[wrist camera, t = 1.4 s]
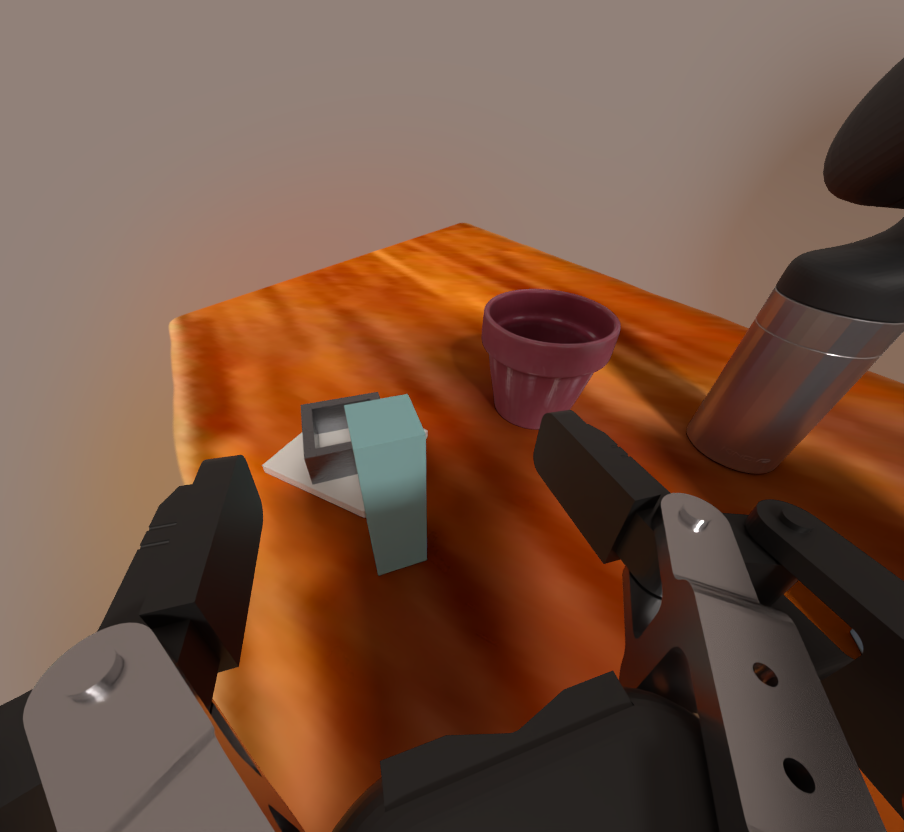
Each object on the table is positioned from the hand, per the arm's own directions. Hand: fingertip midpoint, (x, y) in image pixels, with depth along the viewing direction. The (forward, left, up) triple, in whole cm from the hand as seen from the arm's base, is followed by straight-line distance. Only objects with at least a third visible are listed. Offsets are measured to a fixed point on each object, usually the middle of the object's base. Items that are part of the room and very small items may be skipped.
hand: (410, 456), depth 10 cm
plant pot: (-31, -1, -21) cm, 37 cm away
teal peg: (-7, -6, -20) cm, 22 cm away
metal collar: (-14, -16, -20) cm, 29 cm away
